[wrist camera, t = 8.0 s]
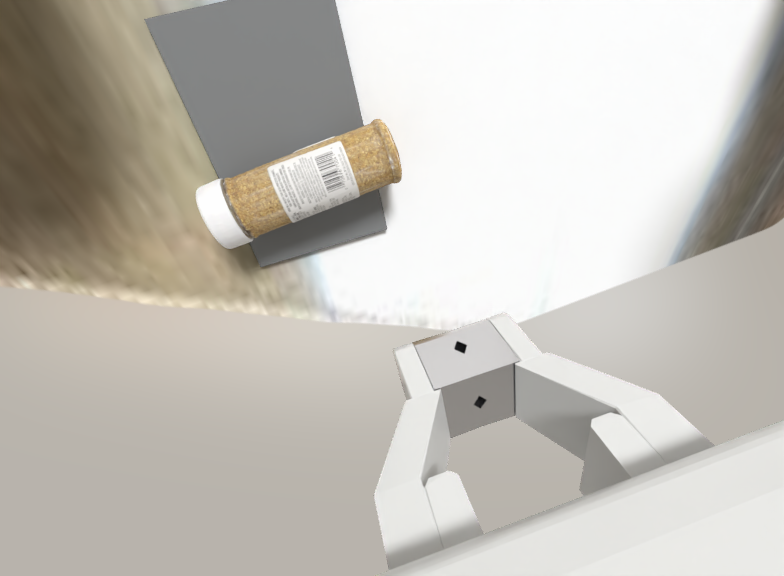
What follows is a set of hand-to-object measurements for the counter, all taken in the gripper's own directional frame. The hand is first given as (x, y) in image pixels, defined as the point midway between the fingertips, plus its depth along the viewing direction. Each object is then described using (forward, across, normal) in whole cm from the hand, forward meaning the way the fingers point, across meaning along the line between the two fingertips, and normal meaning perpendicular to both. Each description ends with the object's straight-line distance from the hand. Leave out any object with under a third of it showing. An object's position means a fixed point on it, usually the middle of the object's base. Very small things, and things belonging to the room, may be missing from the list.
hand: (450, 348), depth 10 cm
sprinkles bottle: (+20, -4, 0) cm, 21 cm away
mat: (+23, +3, -1) cm, 23 cm away
